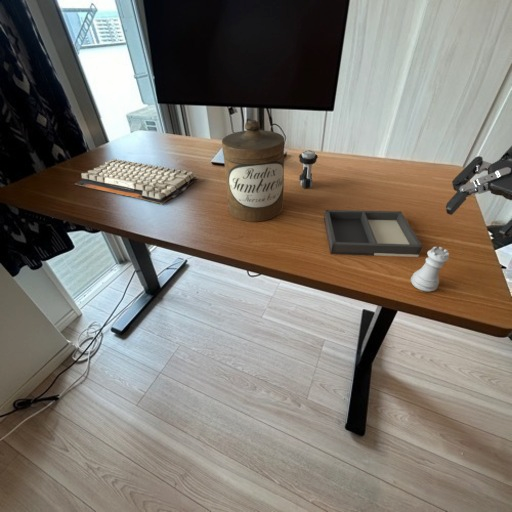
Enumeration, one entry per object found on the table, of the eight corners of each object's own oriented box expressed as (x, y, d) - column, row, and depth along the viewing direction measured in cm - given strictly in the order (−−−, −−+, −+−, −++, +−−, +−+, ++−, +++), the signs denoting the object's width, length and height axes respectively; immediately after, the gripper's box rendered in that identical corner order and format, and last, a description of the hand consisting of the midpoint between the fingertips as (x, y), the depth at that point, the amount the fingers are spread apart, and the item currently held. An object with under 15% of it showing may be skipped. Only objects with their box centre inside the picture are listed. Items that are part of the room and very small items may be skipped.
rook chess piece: (439, 283, 50) (459, 250, 45) (431, 297, 48) (451, 263, 43) (414, 272, 53) (430, 239, 47) (406, 285, 50) (421, 251, 45)
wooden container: (233, 226, 67) (224, 132, 53) (225, 198, 78) (215, 115, 64) (290, 217, 69) (295, 125, 55) (274, 192, 80) (275, 110, 66)
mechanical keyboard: (73, 185, 88) (69, 175, 86) (118, 164, 102) (114, 155, 100) (165, 206, 76) (162, 195, 74) (202, 180, 89) (200, 170, 87)
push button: (292, 181, 86) (294, 149, 79) (308, 178, 87) (311, 147, 80) (301, 190, 81) (303, 157, 74) (317, 187, 82) (321, 154, 76)
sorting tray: (397, 220, 67) (401, 211, 65) (418, 257, 56) (423, 246, 54) (324, 219, 68) (325, 209, 67) (330, 254, 58) (332, 244, 56)
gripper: (500, 116, 44) (430, 196, 48) (622, 137, 35) (523, 236, 38) (500, 143, 50) (436, 214, 53) (605, 168, 40) (520, 253, 43)
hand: (473, 223), depth 46 cm, fingers open, 8 cm apart
